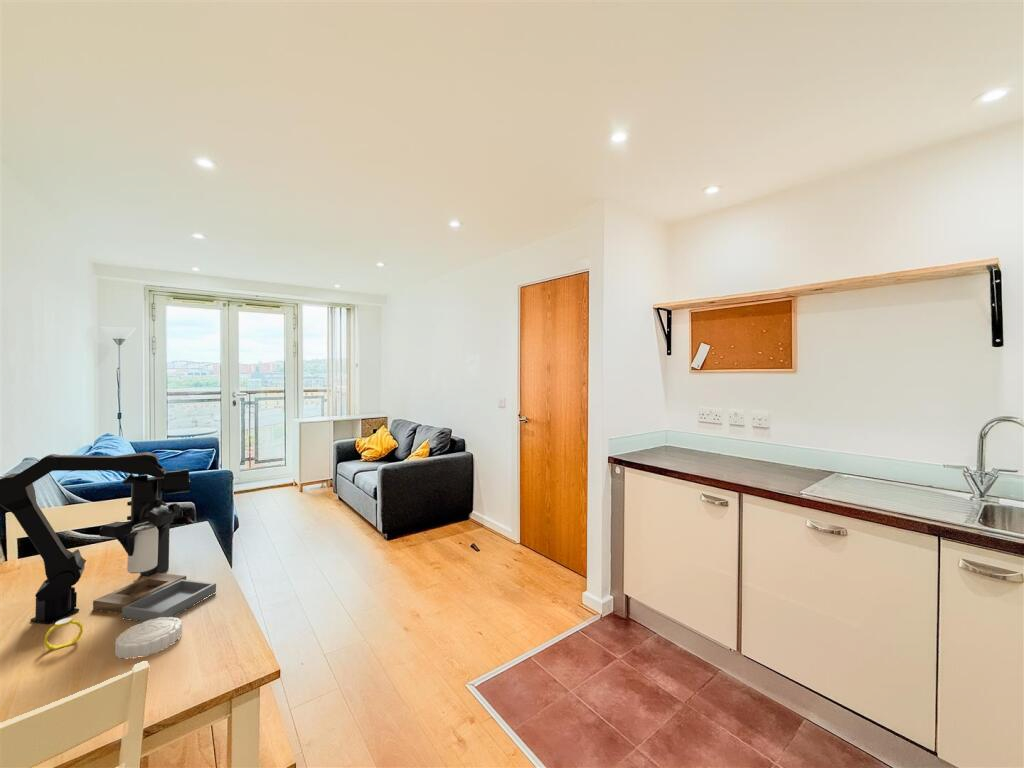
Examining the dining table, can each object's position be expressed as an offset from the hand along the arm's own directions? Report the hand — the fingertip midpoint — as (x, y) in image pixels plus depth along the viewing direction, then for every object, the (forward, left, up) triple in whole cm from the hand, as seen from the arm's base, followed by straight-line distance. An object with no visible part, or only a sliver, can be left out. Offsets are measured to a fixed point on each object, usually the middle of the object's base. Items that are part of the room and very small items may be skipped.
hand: (143, 551), depth 119 cm
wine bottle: (+13, +12, -13) cm, 22 cm away
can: (0, 0, -5) cm, 5 cm away
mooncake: (-17, -24, -13) cm, 32 cm away
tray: (-2, -13, -13) cm, 18 cm away
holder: (0, 0, -13) cm, 13 cm away
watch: (-22, -6, -13) cm, 26 cm away
